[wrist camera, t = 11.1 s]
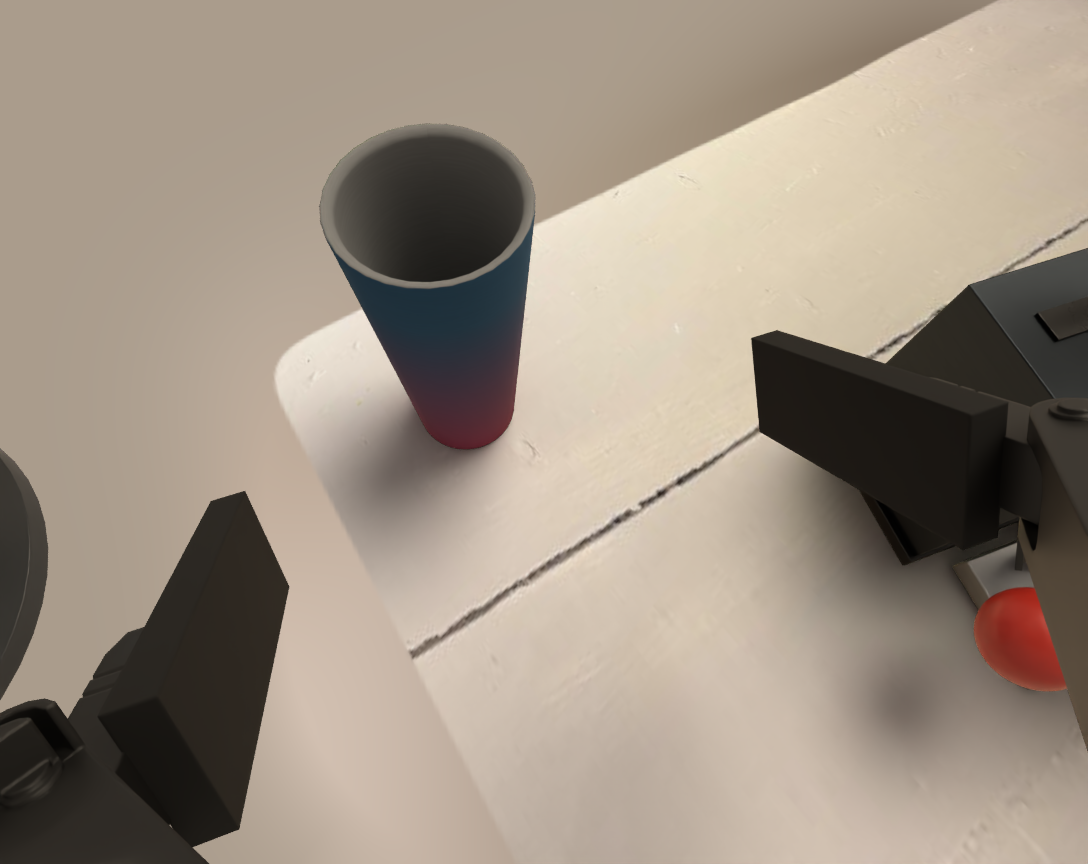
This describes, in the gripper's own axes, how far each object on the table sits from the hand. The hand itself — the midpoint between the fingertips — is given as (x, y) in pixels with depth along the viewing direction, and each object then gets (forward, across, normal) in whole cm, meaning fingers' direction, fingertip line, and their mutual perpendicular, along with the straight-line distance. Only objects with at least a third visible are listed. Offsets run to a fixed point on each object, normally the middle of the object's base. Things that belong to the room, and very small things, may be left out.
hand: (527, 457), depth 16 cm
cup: (+18, 0, -4) cm, 19 cm away
